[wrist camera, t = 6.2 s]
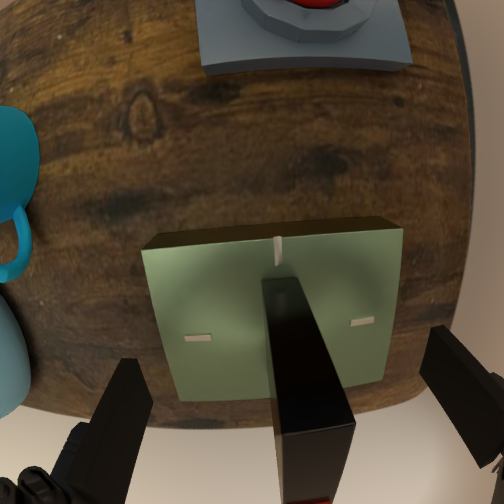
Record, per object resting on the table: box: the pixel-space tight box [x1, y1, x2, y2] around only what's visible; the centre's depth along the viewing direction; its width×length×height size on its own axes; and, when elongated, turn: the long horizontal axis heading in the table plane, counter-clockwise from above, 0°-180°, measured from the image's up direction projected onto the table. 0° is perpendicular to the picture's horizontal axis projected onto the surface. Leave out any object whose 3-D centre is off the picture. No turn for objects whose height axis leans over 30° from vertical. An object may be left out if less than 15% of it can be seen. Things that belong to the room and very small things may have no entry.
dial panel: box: [141, 216, 403, 401], centre depth 17 cm, size 13×10×3 cm
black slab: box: [261, 278, 356, 504], centre depth 11 cm, size 6×2×9 cm, turn 5°
